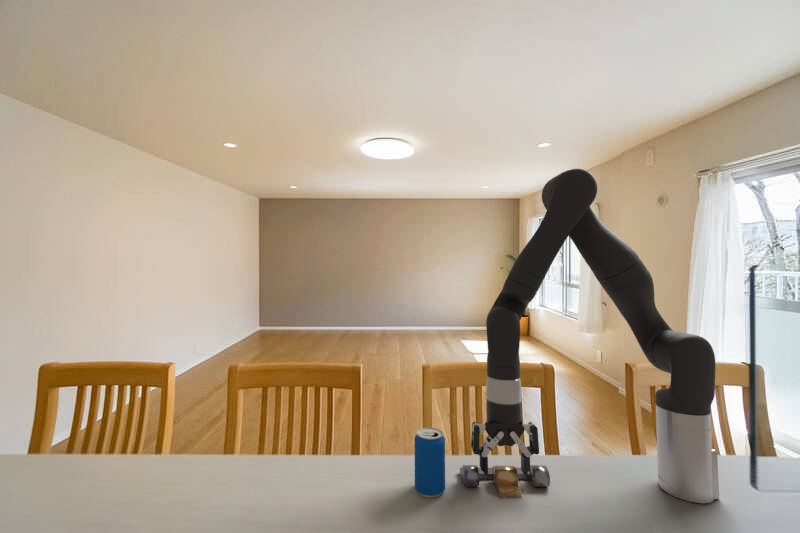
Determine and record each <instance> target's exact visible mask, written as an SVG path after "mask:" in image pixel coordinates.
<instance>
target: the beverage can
mask: <svg viewBox="0 0 800 533" xmlns="http://www.w3.org/2000/svg"><path fill="white" fill-rule="evenodd" d="M445 438H446V437H445V436H444V432H443V431H442V430H441V429H440V428H439V429H438V428H436V427H421V428H420V429H419V428H418V430H417V431H416V435H415V436H414V489H415V491H417V493H419V495H421V496H422V497H425V498H430V499H431V498H437V497H439V496H440V495H441V494H444V492H445V491H446V439H445Z"/></svg>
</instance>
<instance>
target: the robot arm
mask: <svg viewBox="0 0 800 533" xmlns="http://www.w3.org/2000/svg"><path fill="white" fill-rule="evenodd" d="M597 194H598V183H597V180H596V177H595V176H594V175H593V174H592V173H591V172H590V171H588V170H586V169H584V168H571V169H568V170H565V171H562V172H561V173H559V174H558V175H556V176H554V177H552V178H550V179H549V180H548V181H547V182H546V183H545V185H544V186H543V188H542V191H541V201H542V204H543V207H544V208H545V210H546V212H545V214H544V216H543V217H542V220H541V222H540V224H539V226H538V227H537V230H536V231H535V232H534V233H533V235H532V237H530V239H529V241H528V242H527V244H526V245H525V246H524V247H523V248H522V250H521V252H520V253H519V254H518V256H517V258H516V260H515V261H514V264H513V265H512V267H511V270H510V271H509V273H508V275H507V277H506V279H505V281H504V284H503V286H502V289H501V291H500V292H499V295H498V296H497V298H496V299H495V301H494V302H493V305H492V306H491V308H490V309H489V312H488V314H487V316H486V322H485V323H486V325H485V326H486V338H487V339H486V340H487V341H486V342H487V356H486V357H487V358H486V359H487V360H486V384H485V395H486V397H485V398H486V399H485V400H486V407H485V410H486V419H485V420H486V421H485V422H484V424H483V423H478V422H476V421H473V422H472V423H471V437H470V438H471V439H470V448H471V451H472V453H473V454H474V455H478V456H479V468H481V470H482V471H483V472H484V474H488V468H489V456H488V455H489V454H490V452H491V451H493V450H494V448H496V446H498V447H504V446H506V447H507V446H508V447H513V446H514V445H516V446H517V447H518V448H519V449H520V451H521V453H520V468H521V470H522V472H523V474H524V475H527V474H528V472H529V471H530V465H531V457H532V456H533V455H539V454H540V443H539V430H538V427H537V426H536V424H534V423H533V422H532V421H529V422H528V423H526V424H525V423H523V401H522V400H523V396H522V395H523V394H522V390H523V389H522V382H521V361H520V360H521V358H520V342H521V319H522V317H523V315H524V314H525V311H526V310H527V308H528V305H529V304H530V302H532V301H533V300H534V298H535V297H536V295H537V293H538V291H539V289H540V287H541V285H542V284H543V282H544V280H545V278H546V275H547V274H548V272H549V270H550V268H551V266H552V264H553V262H554V260H555V259H556V257H557V255H558V253H559V252H560V251H561V249H562V247H563V245H564V243H565V242H566V241H567V239H568V237H569V238H570V239H571V241H572V243H573V244H574V246H575V248H576V249H577V251H578V252H579V253H580V255H581V257H582V258H583V260H584V262H585V263H586V264H587V265H588V267H589V269H590V271H591V272H592V274H593V275H594V277H595V279H596V280H597V281H598V283H599V284H600V286H601V287H602V289H603V290H604V291H605V293H606V294H607V295H608V297H609V298H610V299H611V301H612V303H613V304H614V305H615V307H616V309H617V311H618V312H619V313H620V314H621V316H622V317H623V319H624V320H625V322H626V323H627V324H628V326H629V328H630V329H631V332H632V333H633V335H634V336H635V339H636V341H637V343H638V345H639V346H640V349H641V350H642V353H643V354H644V356H645V357H646V358H647V361H648V362H649V363H650V364H651V365H652V366H653V367H655V368H657V369H658V370H659V371H662V372H664V373H668V374H670V383H669V384H670V385H669V387H666V388H661V389H658V390H656V391H655V393H654V394H655V425H656V426H655V429H656V449H657V450H656V452H657V453H656V454H657V478H658V479H657V481H658V486H659V488H661V490H663V491H664V492H666V493H667V494H669V495H671V496H672V497H675V498H677V499H681V500H683V501H687V502H690V503H691V502H692V503H695V504H711V503H713V502H714V501H715V500H720V485H719V484H720V483H719V462H718V452H717V450H716V449H715V448H713V439H712V438H713V437H712V436H713V434H712V418H711V417H712V415H711V413H712V412H711V411H712V410H711V408H712V407H711V406H712V404H713V402H714V398H715V393H716V356H715V352H714V348H713V347H712V345H711V343H710V342H709V341H708V340H707V339H706V338H704V337H702V336H700V335H696V334H693V333H686V332H680V331H674V330H673V329H672V328H671V327H670V326H669V325H668V323H667V322H666V320H665V319H664V317H662V316H663V315H661V313H660V312H659V310H658V309H657V306H656V302H655V287H654V285H655V284H654V280H653V277H652V275H651V273H650V271H649V270H648V268H647V266H645V264H644V262H643V261H642V259H641V258H640V256H639V255H638V254H637V253H636V251H635V250H634V249H633V248H632V247H631V246H630V245H629V244H628V243H626V242H625V241H624V240H623V239H622V238H621V237H619V236H618V235H617V234H616V233H614V232H613V231H611V230H610V229H609V228H608V227H606V226H605V225H604V223H603V222H602V221H601V220H600V219H599V218H598V217H597V215H596V213H595V212H594V210H593V209H592V207H591V205H592V204H593V202H594V201H595V199H596V198H597ZM483 432H486V433H487V435H486V437H484V440H483V442H482V444H481V445H480V436H482V434H483ZM524 432H525V433H526V434H527V436H528V442H529V445H528V446H526V445H525V444H524V442H523V441H522V439H520V438H521V437H522V435H523V434H524Z"/></svg>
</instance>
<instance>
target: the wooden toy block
mask: <svg viewBox="0 0 800 533" xmlns="http://www.w3.org/2000/svg"><path fill="white" fill-rule="evenodd" d="M491 468H492V475H493V479H492V480H493V485H494V487H495V490H496V492H497V493H498V495H499V497H500V498H523V490H522V489H521V488H520V485H519V479H518V474H517V470H516V468H517V467H516V466H515V465H492V467H491Z"/></svg>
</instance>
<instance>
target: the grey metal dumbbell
mask: <svg viewBox="0 0 800 533" xmlns="http://www.w3.org/2000/svg"><path fill="white" fill-rule="evenodd" d="M492 468H493V467H488V474H484V472H483V471H482V470H481V468H480V467H478V465H477V464H473V465H472V464H469V465H467V464H463V465H462V467H459V474H460V477H461V481H462V484H463V487H472V488H474V487H476V488H477V487H479V486H480V480H493V475H492ZM548 469H549V468H548V467H547V466H546V465H545V464H544V465H542V464H539V465H538V464H537V465H535V464H534V465H533V464H532V465H531V464H530V471H529V472H528V474H527V475H524V474H523V472H522V470H521V467H516V470H517V474H518V480H528V481H529V482H530V484H531V486H533V487H536V488H538V487H540V488H541V487H544V488H545V487H547V488H549V487H550V486H551V478H550V477H551V476H550V472H549V470H548Z"/></svg>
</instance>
